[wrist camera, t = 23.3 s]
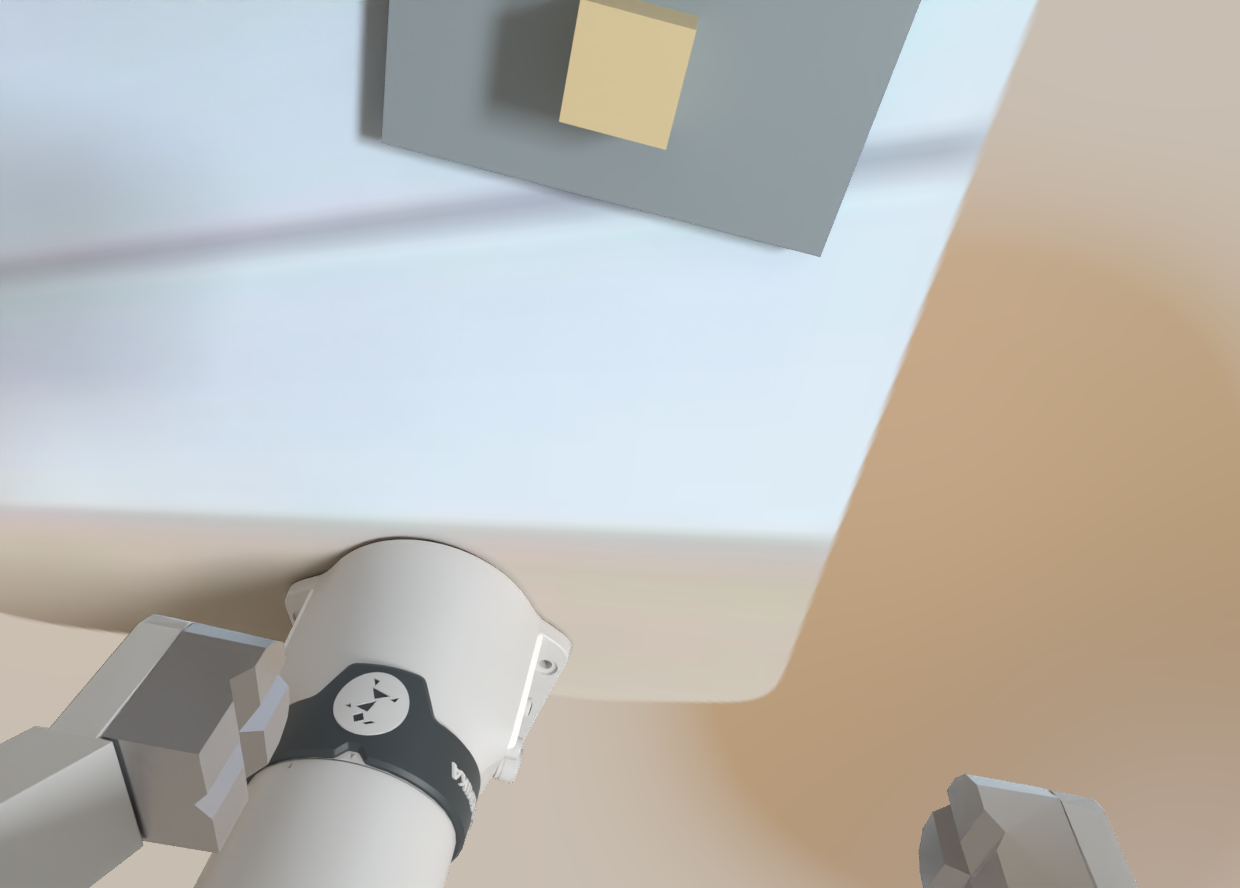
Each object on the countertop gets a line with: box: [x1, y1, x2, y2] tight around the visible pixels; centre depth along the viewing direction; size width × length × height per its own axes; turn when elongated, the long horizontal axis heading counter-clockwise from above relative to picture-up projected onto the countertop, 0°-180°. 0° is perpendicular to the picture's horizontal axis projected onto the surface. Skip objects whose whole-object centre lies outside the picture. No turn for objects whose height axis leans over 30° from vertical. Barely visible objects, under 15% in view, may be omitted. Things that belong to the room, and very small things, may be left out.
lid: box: [382, 0, 921, 257], centre depth 30 cm, size 11×19×6 cm, turn 77°
